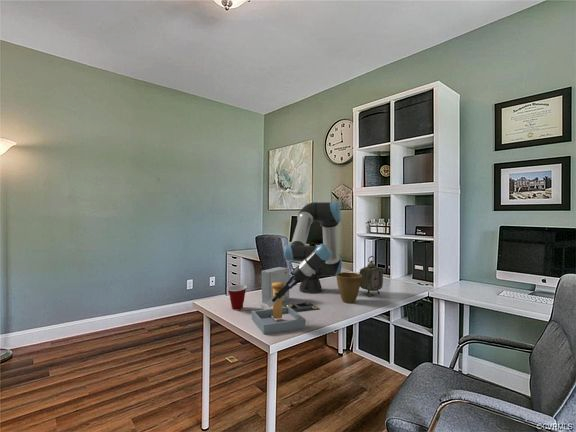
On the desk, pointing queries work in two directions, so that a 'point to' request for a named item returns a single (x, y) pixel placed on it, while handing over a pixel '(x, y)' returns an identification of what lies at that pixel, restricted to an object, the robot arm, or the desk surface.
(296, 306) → the tensioner bracket
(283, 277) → the hard drive box
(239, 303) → the plastic cup
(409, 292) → the desk surface
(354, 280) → the plant pot
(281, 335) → the desk surface
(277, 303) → the pin
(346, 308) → the desk surface
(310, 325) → the desk surface
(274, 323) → the pin tray
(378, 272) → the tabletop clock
